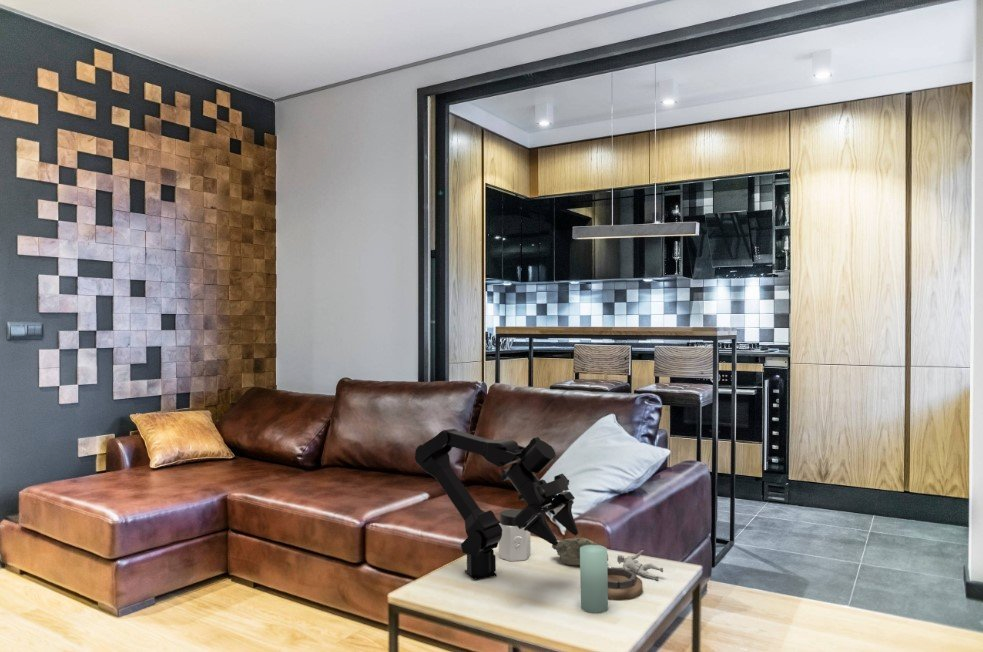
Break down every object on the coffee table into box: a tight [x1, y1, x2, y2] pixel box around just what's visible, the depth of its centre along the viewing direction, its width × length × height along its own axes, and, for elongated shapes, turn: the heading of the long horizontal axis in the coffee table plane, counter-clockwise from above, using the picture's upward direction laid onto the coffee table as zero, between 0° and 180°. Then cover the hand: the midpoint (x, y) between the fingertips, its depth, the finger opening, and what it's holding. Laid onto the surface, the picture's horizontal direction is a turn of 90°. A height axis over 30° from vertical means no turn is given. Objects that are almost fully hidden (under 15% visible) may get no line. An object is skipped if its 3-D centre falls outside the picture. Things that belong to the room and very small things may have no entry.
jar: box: [498, 508, 532, 562], centre depth 183 cm, size 9×8×12 cm
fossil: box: [551, 537, 609, 566], centre depth 177 cm, size 14×10×10 cm
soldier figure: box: [616, 549, 664, 581], centre depth 168 cm, size 8×5×12 cm
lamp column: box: [579, 544, 609, 614], centre depth 148 cm, size 6×6×13 cm
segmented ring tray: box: [607, 566, 643, 601], centre depth 158 cm, size 13×13×4 cm
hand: (567, 539), depth 154 cm, fingers open, 9 cm apart
